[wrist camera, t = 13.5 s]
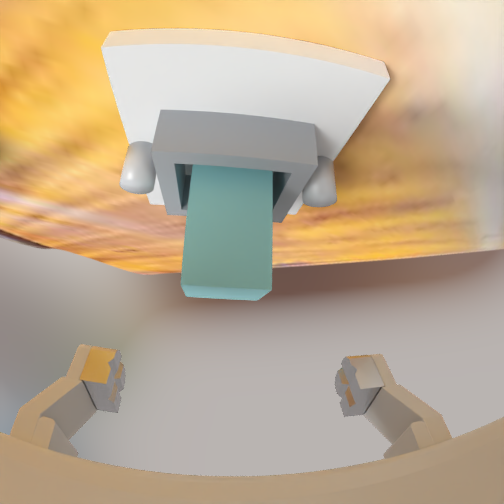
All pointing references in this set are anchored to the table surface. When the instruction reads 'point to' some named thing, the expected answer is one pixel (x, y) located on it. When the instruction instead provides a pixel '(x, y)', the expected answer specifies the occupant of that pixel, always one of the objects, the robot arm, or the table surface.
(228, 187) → the block
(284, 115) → the housing plate
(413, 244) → the table surface
